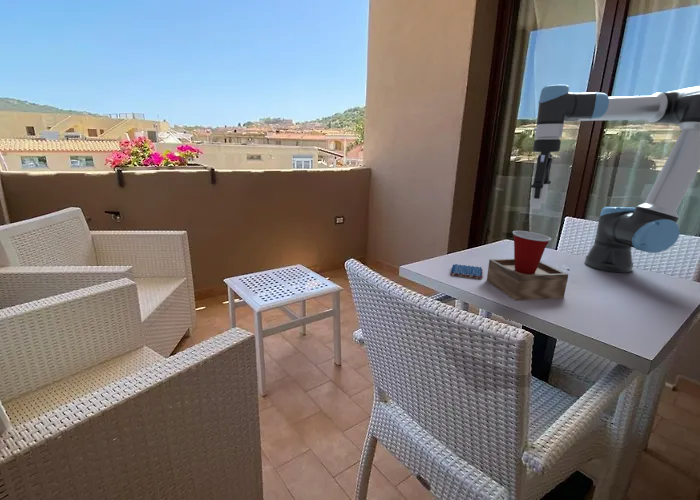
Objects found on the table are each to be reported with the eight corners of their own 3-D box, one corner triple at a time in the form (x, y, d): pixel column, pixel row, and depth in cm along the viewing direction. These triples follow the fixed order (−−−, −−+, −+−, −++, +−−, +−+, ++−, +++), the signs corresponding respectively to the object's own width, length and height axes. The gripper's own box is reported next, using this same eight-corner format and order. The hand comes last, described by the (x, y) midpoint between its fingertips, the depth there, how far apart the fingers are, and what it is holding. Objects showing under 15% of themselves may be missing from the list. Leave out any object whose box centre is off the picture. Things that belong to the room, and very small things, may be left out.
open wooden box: (529, 279, 124) (533, 258, 122) (563, 298, 109) (568, 274, 107) (486, 280, 121) (489, 259, 119) (515, 300, 106) (518, 276, 104)
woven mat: (482, 281, 122) (483, 275, 122) (450, 277, 125) (450, 271, 125) (482, 271, 132) (483, 266, 131) (452, 268, 135) (452, 263, 134)
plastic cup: (550, 278, 107) (557, 239, 104) (511, 275, 109) (517, 236, 106) (538, 267, 117) (545, 231, 114) (503, 264, 119) (508, 228, 116)
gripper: (539, 139, 126) (531, 200, 132) (528, 138, 106) (519, 210, 112) (564, 139, 122) (554, 201, 128) (557, 138, 102) (546, 212, 108)
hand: (538, 206), depth 120 cm, fingers open, 13 cm apart
